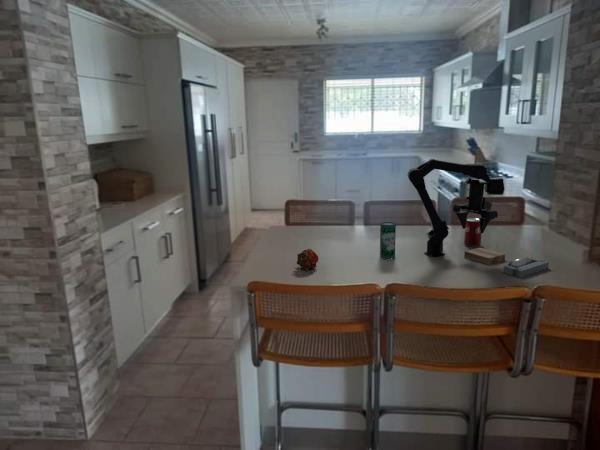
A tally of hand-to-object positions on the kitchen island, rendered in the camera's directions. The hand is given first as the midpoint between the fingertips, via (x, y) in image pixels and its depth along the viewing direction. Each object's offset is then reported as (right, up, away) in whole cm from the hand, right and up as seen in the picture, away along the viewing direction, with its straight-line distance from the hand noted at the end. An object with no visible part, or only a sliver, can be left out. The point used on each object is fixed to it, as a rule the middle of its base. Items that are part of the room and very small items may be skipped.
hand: (472, 230), depth 189 cm
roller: (+12, -14, -15) cm, 24 cm away
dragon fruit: (-70, -15, -7) cm, 72 cm away
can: (-36, -12, +3) cm, 38 cm away
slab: (+4, -12, -2) cm, 13 cm away
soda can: (+6, -7, +17) cm, 20 cm away
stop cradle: (+13, -15, -18) cm, 27 cm away
